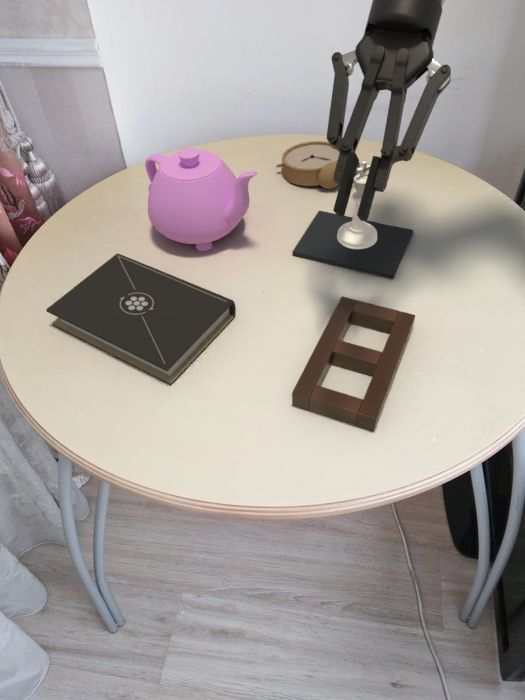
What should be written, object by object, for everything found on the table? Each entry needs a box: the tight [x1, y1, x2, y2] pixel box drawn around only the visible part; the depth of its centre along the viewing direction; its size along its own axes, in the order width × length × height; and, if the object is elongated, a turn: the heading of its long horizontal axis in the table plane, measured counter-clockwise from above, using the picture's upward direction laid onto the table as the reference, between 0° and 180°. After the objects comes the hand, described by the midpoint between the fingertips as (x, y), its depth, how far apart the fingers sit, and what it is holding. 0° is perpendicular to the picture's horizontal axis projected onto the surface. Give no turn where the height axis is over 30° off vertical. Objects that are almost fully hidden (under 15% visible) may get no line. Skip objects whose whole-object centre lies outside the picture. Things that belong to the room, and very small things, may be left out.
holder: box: [291, 295, 416, 433], centre depth 71 cm, size 10×18×2 cm, turn 156°
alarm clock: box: [275, 140, 361, 190], centre depth 102 cm, size 11×5×15 cm
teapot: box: [144, 147, 258, 252], centre depth 88 cm, size 22×16×14 cm
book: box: [45, 253, 237, 386], centre depth 78 cm, size 22×15×3 cm
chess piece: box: [337, 160, 377, 249], centre depth 66 cm, size 5×5×10 cm
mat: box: [292, 210, 414, 280], centre depth 89 cm, size 16×12×1 cm
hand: (350, 215), depth 63 cm, fingers closed on chess piece, 2 cm apart
